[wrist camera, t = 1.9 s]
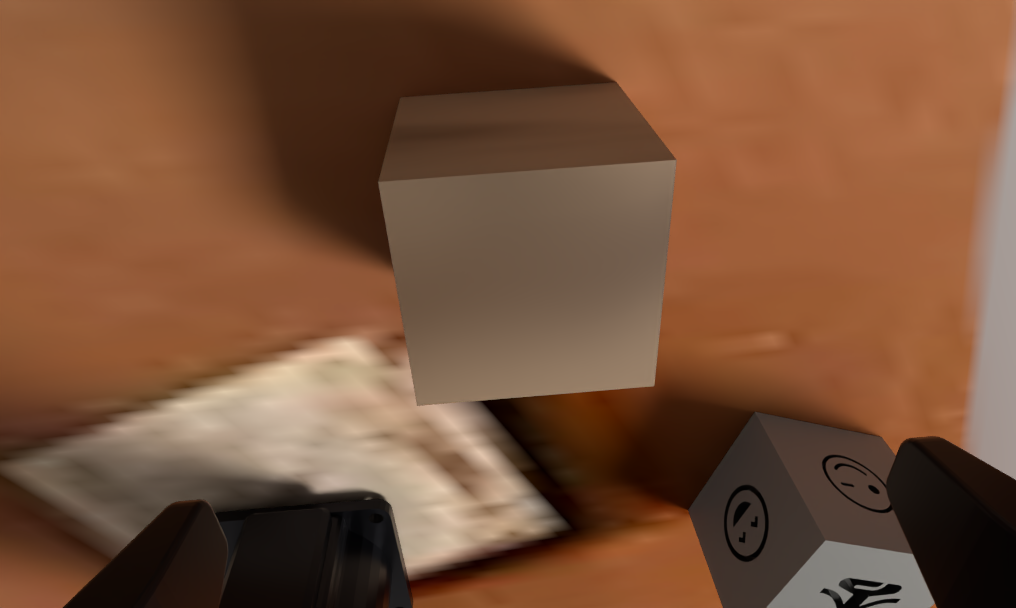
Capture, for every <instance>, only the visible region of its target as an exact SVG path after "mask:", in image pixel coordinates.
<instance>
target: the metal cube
mask: <svg viewBox="0 0 1016 608" xmlns="http://www.w3.org/2000/svg"><path fill="white" fill-rule="evenodd" d="M676 161H677V160H676V159H675V157H674V156H673V155H672V153H671V152H670V151H669V149H668V148H667V147H666V146H665V144H664V143H663V142H662V140H661V139H660V138H659V137H658V135H657V134H656V133H655V131H654V130H653V129H652V127H651V126H650V125H649V124H648V122H647V121H646V120H645V118H644V117H643V116H642V115H641V113H640V112H639V111H638V109H637V108H636V107H635V105H634V104H633V103H632V102H631V100H630V99H629V98H628V96H627V95H626V94H625V93H624V91H623V90H622V89H621V87H620V86H619V85H618V84H617V82H611V83H597V84H582V85H568V86H554V87H540V88H525V89H511V90H497V91H483V92H468V93H454V94H440V95H426V96H411V97H400V100H399V104H398V108H397V111H396V115H395V119H394V123H393V127H392V131H391V134H390V138H389V142H388V146H387V150H386V154H385V157H384V161H383V165H382V169H381V173H380V177H379V180H378V184H379V190H380V196H381V201H382V207H383V213H384V219H385V224H386V230H387V236H388V241H389V247H390V253H391V259H392V264H393V270H394V276H395V281H396V287H397V293H398V299H399V304H400V310H401V316H402V322H403V327H404V333H405V339H406V344H407V350H408V356H409V362H410V367H411V373H412V379H413V385H414V390H415V396H416V402H417V406H420V405H432V404H444V403H457V402H469V401H481V400H493V399H505V398H517V397H529V396H541V395H553V394H565V393H577V392H589V391H602V390H614V389H626V388H638V387H650V386H654V384H655V374H656V363H657V353H658V343H659V333H660V323H661V313H662V303H663V292H664V282H665V272H666V262H667V252H668V242H669V232H670V221H671V211H672V201H673V191H674V181H675V171H676Z"/></svg>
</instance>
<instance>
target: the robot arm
mask: <svg viewBox="0 0 1016 608" xmlns="http://www.w3.org/2000/svg"><path fill="white" fill-rule="evenodd" d="M886 491H887V495H888V499H889V501H890V504H891V506H892V508H893V510H894V513H895V515H896V517H897V520H898V522H899V524H900V526H901V529H902V531H903V533H904V535H905V538H906V540H907V542H908V544H909V547H910V549H911V551H912V553H913V556H914V558H915V560H916V563H917V565H918V567H919V569H920V572H921V574H922V576H923V578H924V581H925V583H926V585H927V587H928V590H929V592H930V594H931V596H932V598H933V600H934V602H935V604H936V607H937V608H1016V480H1015V479H1013V478H1011V477H1010V476H1008V475H1006V474H1005V473H1003V472H1001V471H999V470H998V469H996V468H994V467H992V466H991V465H989V464H987V463H985V462H984V461H982V460H980V459H978V458H977V457H975V456H973V455H971V454H970V453H968V452H966V451H965V450H963V449H961V448H959V447H958V446H956V445H954V444H952V443H951V442H949V441H947V440H945V439H943V438H940V437H936V436H928V437H917V438H909V439H906V440H905V441H904V442H902V443H901V445H900V447H899V450H898V452H897V455H896V457H895V460H894V462H893V465H892V467H891V470H890V472H889V475H888V477H887V481H886ZM63 608H413V597H412V593H411V588H410V584H409V580H408V575H407V571H406V567H405V562H404V558H403V554H402V549H401V545H400V541H399V536H398V532H397V528H396V523H395V519H394V515H393V510H392V507H391V505H390V504H389V503H388V502H386V501H384V500H381V499H371V500H359V501H348V502H336V503H324V504H312V505H301V506H289V507H277V508H266V509H254V510H242V511H231V512H219V513H214V511H213V509H212V507H211V505H210V503H208V502H207V501H206V500H189V501H179V502H175V503H172V504H171V505H169V506H168V507H166V508H165V509H164V510H163V511H162V512H161V513H160V514H159V515H158V516H157V517H156V518H155V519H154V520H153V521H152V522H151V523H150V524H149V525H148V526H147V527H146V528H145V529H144V530H142V531H141V532H140V533H139V534H138V535H137V536H136V537H135V538H134V539H133V540H132V541H131V542H130V543H129V544H128V545H127V546H126V547H125V548H124V549H123V550H122V551H121V552H120V553H119V554H118V555H117V556H116V557H115V558H114V559H112V560H111V561H110V562H109V563H108V564H107V565H106V566H105V567H104V568H103V569H102V570H101V571H100V572H99V573H98V574H97V575H96V576H95V577H94V578H93V579H92V580H91V581H90V582H89V583H88V584H87V585H86V586H85V587H83V588H82V589H81V590H80V591H79V592H78V593H77V594H76V595H75V596H74V597H73V598H72V599H71V600H70V601H69V602H68V603H67V604H66V605H65V606H64V607H63Z"/></svg>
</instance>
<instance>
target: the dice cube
mask: <svg viewBox="0 0 1016 608" xmlns="http://www.w3.org/2000/svg"><path fill="white" fill-rule="evenodd" d="M895 457H896V456H895V454H894V453H893V452H892V450H891V449H890V448H889V446H888V445H887V444H886V442H885V441H884V440H883V438H882V437H878V436H873V435H868V434H863V433H858V432H853V431H848V430H843V429H838V428H833V427H828V426H823V425H818V424H814V423H809V422H804V421H799V420H794V419H789V418H784V417H779V416H774V415H769V414H764V413H759V412H754V414H753V415H752V417H751V418H750V419H749V421H748V422H747V424H746V425H745V427H744V428H743V430H742V431H741V433H740V434H739V436H738V437H737V439H736V440H735V442H734V443H733V445H732V446H731V448H730V449H729V450H728V452H727V453H726V455H725V456H724V458H723V459H722V461H721V462H720V464H719V465H718V467H717V468H716V470H715V471H714V473H713V474H712V476H711V477H710V479H709V480H708V481H707V483H706V484H705V486H704V487H703V489H702V490H701V492H700V493H699V495H698V496H697V498H696V499H695V501H694V502H693V504H692V505H691V507H690V508H689V510H688V511H689V514H690V517H691V520H692V522H693V525H694V528H695V531H696V533H697V536H698V539H699V542H700V545H701V547H702V550H703V553H704V556H705V559H706V561H707V564H708V567H709V570H710V572H711V575H712V578H713V581H714V584H715V586H716V589H717V592H718V595H719V598H720V600H721V603H722V606H723V608H930V607H931V606H932V605H933V604H934V603H935V602H934V600H933V598H932V596H931V594H930V592H929V590H928V587H927V585H926V583H925V581H924V578H923V576H922V574H921V572H920V569H919V567H918V565H917V563H916V560H915V558H914V556H913V553H912V551H911V549H910V547H909V544H908V542H907V540H906V538H905V535H904V533H903V531H902V529H901V526H900V524H899V522H898V520H897V517H896V515H895V513H894V510H893V508H892V506H891V504H890V501H889V499H888V495H887V491H886V481H887V477H888V475H889V472H890V470H891V467H892V465H893V462H894V460H895Z"/></svg>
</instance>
